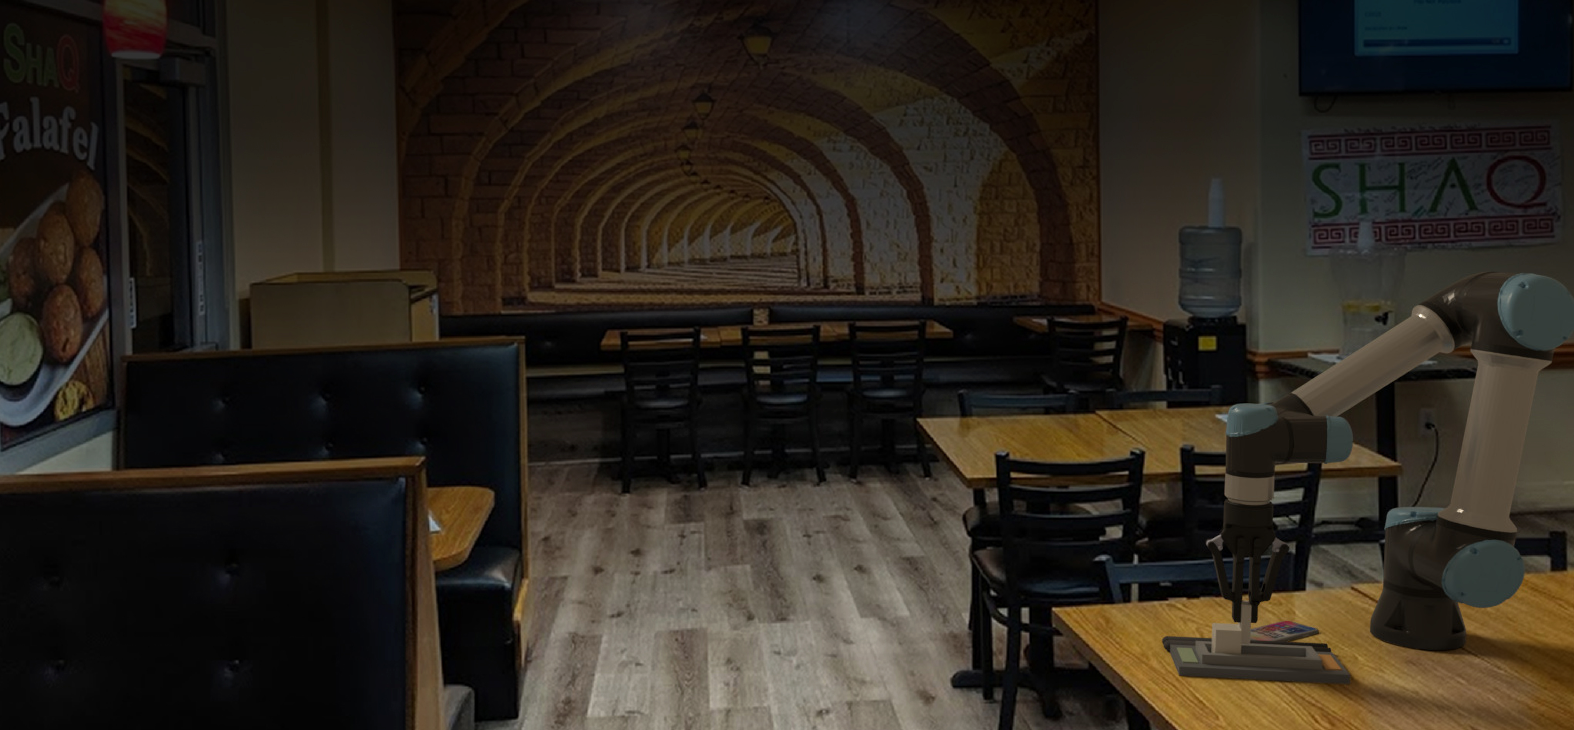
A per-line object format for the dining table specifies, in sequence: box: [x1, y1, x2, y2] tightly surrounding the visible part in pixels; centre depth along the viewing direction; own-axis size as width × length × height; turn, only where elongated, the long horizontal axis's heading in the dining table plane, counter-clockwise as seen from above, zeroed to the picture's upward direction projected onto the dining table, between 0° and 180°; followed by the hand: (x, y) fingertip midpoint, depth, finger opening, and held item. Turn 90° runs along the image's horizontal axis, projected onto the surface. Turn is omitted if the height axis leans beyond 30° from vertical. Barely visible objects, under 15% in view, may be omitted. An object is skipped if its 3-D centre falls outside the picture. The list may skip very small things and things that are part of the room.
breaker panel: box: [1169, 641, 1351, 685], centre depth 208 cm, size 26×11×3 cm, turn 81°
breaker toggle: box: [1211, 622, 1242, 654], centre depth 208 cm, size 4×4×5 cm
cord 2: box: [1163, 640, 1332, 652], centre depth 215 cm, size 27×2×2 cm, turn 81°
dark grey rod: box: [1161, 635, 1329, 648], centre depth 217 cm, size 27×2×2 cm, turn 81°
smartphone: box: [1250, 620, 1320, 642], centre depth 226 cm, size 7×1×15 cm
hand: (1243, 641), depth 208 cm, fingers closed
